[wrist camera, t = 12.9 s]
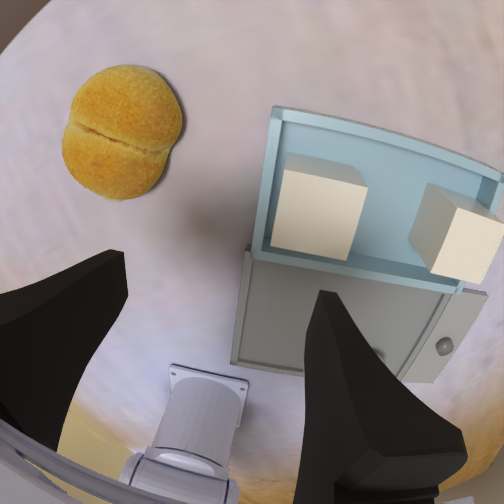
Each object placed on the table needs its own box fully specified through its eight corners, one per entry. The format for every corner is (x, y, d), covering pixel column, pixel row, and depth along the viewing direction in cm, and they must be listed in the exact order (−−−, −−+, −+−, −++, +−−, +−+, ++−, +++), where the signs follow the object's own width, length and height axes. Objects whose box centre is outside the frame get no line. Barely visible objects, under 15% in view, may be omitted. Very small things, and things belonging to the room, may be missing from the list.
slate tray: (430, 380, 26) (433, 390, 25) (231, 357, 28) (228, 368, 26) (487, 289, 21) (494, 299, 20) (246, 244, 22) (243, 254, 21)
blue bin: (447, 275, 21) (459, 295, 19) (255, 239, 22) (249, 257, 19) (488, 165, 16) (507, 175, 14) (275, 105, 17) (272, 107, 15)
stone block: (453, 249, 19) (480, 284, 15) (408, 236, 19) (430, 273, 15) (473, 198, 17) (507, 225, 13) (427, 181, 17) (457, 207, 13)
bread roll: (204, 90, 17) (183, 90, 14) (152, 206, 22) (126, 230, 18) (103, 49, 16) (68, 47, 13) (67, 160, 21) (33, 175, 17)
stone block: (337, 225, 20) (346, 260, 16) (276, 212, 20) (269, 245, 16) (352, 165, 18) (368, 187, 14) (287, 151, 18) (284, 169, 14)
